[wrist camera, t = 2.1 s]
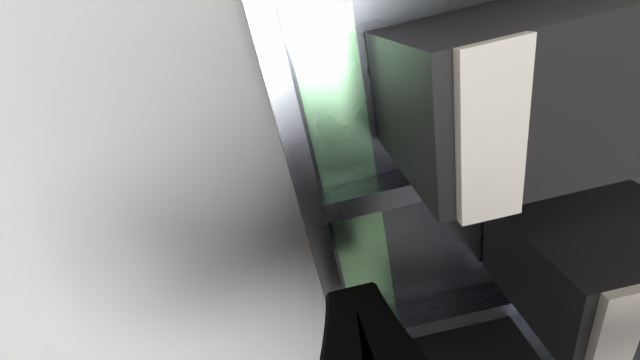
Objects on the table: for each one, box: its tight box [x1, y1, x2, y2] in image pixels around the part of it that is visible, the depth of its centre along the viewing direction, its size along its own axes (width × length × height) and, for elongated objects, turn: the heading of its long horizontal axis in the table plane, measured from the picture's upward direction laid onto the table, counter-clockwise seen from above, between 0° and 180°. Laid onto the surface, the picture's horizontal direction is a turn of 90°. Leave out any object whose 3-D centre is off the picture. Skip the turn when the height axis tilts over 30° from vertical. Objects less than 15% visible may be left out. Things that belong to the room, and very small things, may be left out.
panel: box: [242, 0, 640, 360], centre depth 11 cm, size 15×17×2 cm
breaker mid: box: [483, 179, 640, 360], centre depth 9 cm, size 4×3×4 cm
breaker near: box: [365, 0, 640, 227], centre depth 7 cm, size 4×3×4 cm
